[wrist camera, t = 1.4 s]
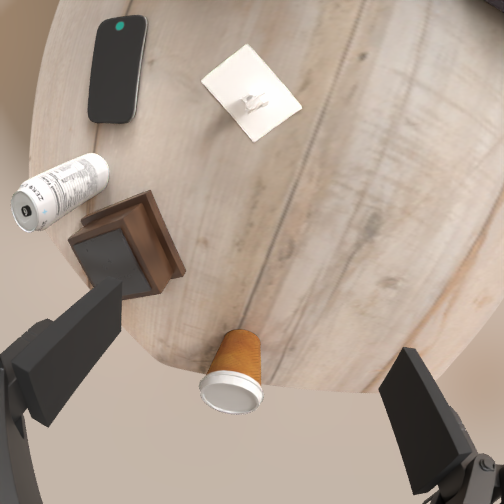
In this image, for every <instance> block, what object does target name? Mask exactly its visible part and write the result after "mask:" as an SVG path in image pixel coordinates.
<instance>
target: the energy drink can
mask: <svg viewBox="0 0 504 504" xmlns="http://www.w3.org/2000/svg"><path fill="white" fill-rule="evenodd" d="M108 180H109V167H108V165H107V163H106V161H105V160H104V159H103V158H102V157H100V156H99V155H97V154H94V153H88V154H85V155H82V156H80V157H77V158H75V159H73V160H70V161H68V162H65V163H63V164H61V165H59V166H56V167H54V168H52V169H50V170H47V171H45V172H43V173H41V174H39V175H37V176H35V177H33V178H31V179H28V180H26V181H25V182H23V183H22V185H21V186H20V188H19V190H18V191H17V192H15V193H14V194H13V196H12V200H11V210H12V214H13V217H14V219H15V221H16V223H17V224H18V226H19V227H20V228H21V229H22V230H24V231H25V232H33V231H34V230H35V231H41V230H45V229H46V228H48V227H49V226H50V225H52V224H53V223H55V222H56V221H57V220H59V219H60V218H62V217H63V216H65V215H66V214H68V213H69V212H71V211H72V210H74V209H75V208H77V207H78V206H80V205H81V204H83V203H84V202H86V201H87V200H89V199H91V198H92V197H94V196H95V195H97V194H98V193H100V192H102V191H103V190H104V189H105V188H106V186H107V184H108Z"/></svg>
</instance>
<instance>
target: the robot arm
mask: <svg viewBox="0 0 504 504" xmlns="http://www.w3.org/2000/svg"><path fill="white" fill-rule="evenodd" d="M122 285H123V281H122V280H118V279H115V278H112V277H109V276H108V277H106V278H105V279H104V280H103V281H101V282H100V283H99V284H98V285H97V286H95V287H94V288H93V289H92V290H90V291H89V292H88V293H87V294H86V295H84V296H83V297H82V298H81V299H80V300H78V301H77V302H76V303H75V304H74V305H72V306H71V307H70V308H69V309H68V310H67V311H65V313H63V314H62V315H61V316H60V317H58V318H57V319H56V320H55V321H52V320H50V319H45V320H42V321H40V322H38V323H36V324H35V325H33V326H32V327H31V328H30V329H29V330H28V332H27V331H26V332H25V333H24V334H23V335H22V336H21V337H20V338H18V339H17V340H16V341H15V342H14V343H12V344H11V345H10V346H9V347H8V348H7V349H6V350H5V351H3V352H2V353H1V354H0V504H43V502H42V499H41V496H40V492H39V489H38V486H37V481H36V478H35V473H34V469H33V465H32V460H31V456H30V451H29V445H28V439H27V433H26V427H25V419H24V416H23V413H24V411H25V410H26V409H27V408H28V410H29V412H30V414H31V417H32V418H33V419H35V420H36V421H38V422H40V423H41V424H43V425H44V426H46V427H49V426H50V425H51V423H52V422H53V420H54V419H55V418H56V416H57V415H58V413H59V412H60V411H61V409H62V408H63V406H64V405H65V403H66V402H67V401H68V400H69V398H70V397H71V395H72V394H73V393H74V391H75V390H76V389H77V387H78V386H79V385H80V383H81V382H82V381H83V379H84V378H85V377H86V376H87V374H88V373H89V372H90V370H91V369H92V367H93V366H94V365H95V364H96V362H97V361H98V360H99V359H100V357H101V356H102V354H103V353H104V352H105V351H106V350H107V348H108V347H109V346H110V345H111V343H112V342H113V341H114V340H115V338H116V337H117V336H118V334H119V333H120V332H121V310H122ZM379 392H380V395H381V397H382V400H383V403H384V406H385V408H386V411H387V414H388V417H389V420H390V422H391V425H392V428H393V431H394V434H395V437H396V440H397V443H398V446H399V449H400V452H401V455H402V459H403V462H404V465H405V468H406V472H407V475H408V478H409V481H410V485H411V489H412V492H413V495H417V494H422V493H427V492H429V491H430V490H431V489H433V488H434V487H435V486H436V485H437V484H438V487H439V490H438V491H437V492H435V493H434V494H433V495H432V496H430V497H429V498H428V499H426V500H425V501H424V503H423V504H426V503H428V502H429V501H430V500H431V503H430V504H493V503H494V502H495V501H497V500H498V499H499V498H500V497H501V503H500V504H504V465H497V464H495V461H494V460H493V459H492V458H491V457H490V456H489V455H486V454H478V452H477V450H476V448H475V446H474V444H473V442H472V440H471V438H470V436H469V434H468V432H467V431H465V429H466V428H465V427H464V425H463V424H462V421H461V419H460V417H459V416H458V414H457V413H456V412H455V411H454V410H453V408H452V407H451V406H449V405H448V403H447V402H446V400H445V398H444V396H443V394H442V393H441V391H440V389H439V387H438V386H437V384H436V382H435V380H434V379H433V377H432V375H431V374H430V372H429V370H428V369H427V367H426V365H425V364H424V362H423V360H422V359H421V357H420V356H419V354H418V352H417V351H416V349H414V348H407V347H403V348H402V350H401V352H400V353H399V355H398V357H397V359H396V361H395V362H394V364H393V366H392V367H391V369H390V371H389V373H388V374H387V376H386V378H385V379H384V381H383V382H382V384H381V386H380V387H379Z"/></svg>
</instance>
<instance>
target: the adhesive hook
mask: <svg viewBox="0 0 504 504" xmlns="http://www.w3.org/2000/svg"><path fill="white" fill-rule="evenodd" d="M265 94H266V92H265V91H262V92H261V93H259V94H258V93H256V94H254V93H253V92H252V91H251V92H248V93H247V94H245V95H243V96H241V97H239V98H238V99H239V100H240V101H242V102H243V103H244V104H245V105H244V106H245V111H246V113H247V114H248V115H249V114H251V113H253V112H254V111H256V110H259V109H262V108H264V107H266V106H268V105H269V103H270V100H269V98H268V97H267V96H264V95H265Z"/></svg>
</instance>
